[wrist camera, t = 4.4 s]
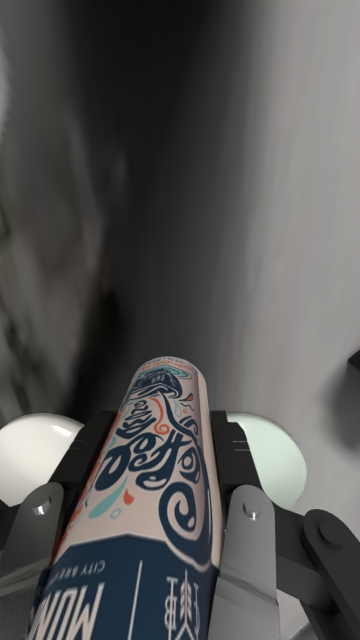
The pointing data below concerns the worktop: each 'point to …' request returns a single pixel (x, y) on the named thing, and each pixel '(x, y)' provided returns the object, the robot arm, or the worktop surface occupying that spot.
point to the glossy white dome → (32, 452)
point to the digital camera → (355, 360)
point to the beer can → (143, 522)
